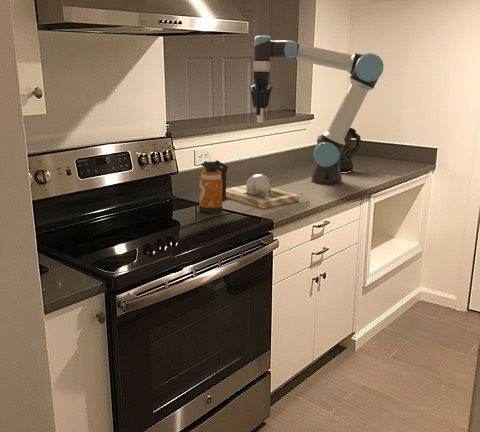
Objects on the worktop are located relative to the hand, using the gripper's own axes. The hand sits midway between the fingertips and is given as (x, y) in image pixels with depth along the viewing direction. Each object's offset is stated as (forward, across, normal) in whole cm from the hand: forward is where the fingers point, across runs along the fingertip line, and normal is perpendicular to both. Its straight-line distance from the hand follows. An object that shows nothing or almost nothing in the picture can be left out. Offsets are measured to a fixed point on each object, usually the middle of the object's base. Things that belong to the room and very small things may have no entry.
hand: (260, 122), depth 260 cm
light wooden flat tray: (+29, +21, +22) cm, 42 cm away
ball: (+24, +23, +25) cm, 41 cm away
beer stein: (+30, -59, +3) cm, 66 cm away
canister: (+30, +50, +28) cm, 65 cm away
